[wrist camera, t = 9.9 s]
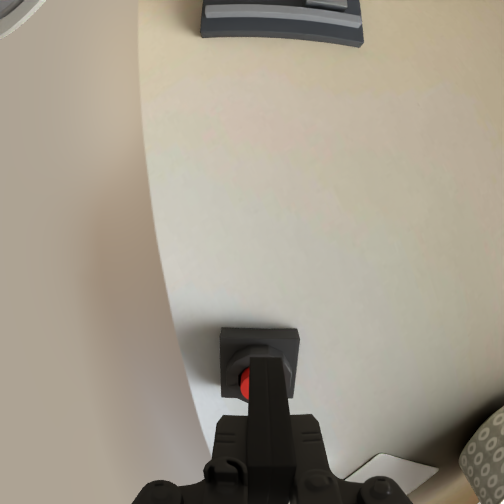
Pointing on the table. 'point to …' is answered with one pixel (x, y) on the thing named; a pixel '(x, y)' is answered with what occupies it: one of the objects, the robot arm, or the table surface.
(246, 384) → the button
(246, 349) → the button box
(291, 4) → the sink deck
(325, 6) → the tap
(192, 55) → the table surface
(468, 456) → the planter
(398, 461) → the grey flat square panel
